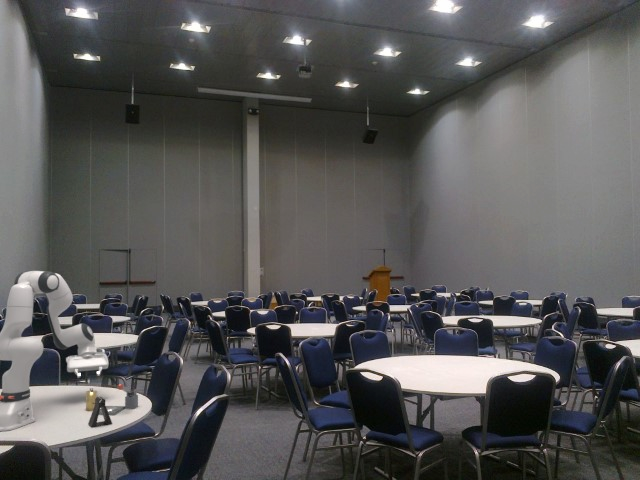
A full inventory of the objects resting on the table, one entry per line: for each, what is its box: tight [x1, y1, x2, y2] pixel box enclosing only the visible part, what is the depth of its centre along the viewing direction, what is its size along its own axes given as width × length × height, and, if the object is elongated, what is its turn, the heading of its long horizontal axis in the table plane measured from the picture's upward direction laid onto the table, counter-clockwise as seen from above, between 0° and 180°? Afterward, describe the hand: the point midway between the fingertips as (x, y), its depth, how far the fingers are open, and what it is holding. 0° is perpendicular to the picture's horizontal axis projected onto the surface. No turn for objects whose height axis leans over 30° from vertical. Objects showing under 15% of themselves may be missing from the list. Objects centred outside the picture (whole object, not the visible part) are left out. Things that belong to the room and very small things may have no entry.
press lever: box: [117, 383, 134, 395], centre depth 276 cm, size 17×3×3 cm, turn 176°
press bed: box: [98, 405, 126, 416], centre depth 275 cm, size 12×10×1 cm
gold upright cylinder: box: [85, 388, 98, 412], centre depth 279 cm, size 5×5×10 cm
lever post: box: [124, 388, 139, 410], centre depth 283 cm, size 4×5×9 cm
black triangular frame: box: [88, 396, 113, 429], centre depth 254 cm, size 9×6×12 cm, turn 125°
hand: (88, 376), depth 290 cm, fingers open, 8 cm apart
